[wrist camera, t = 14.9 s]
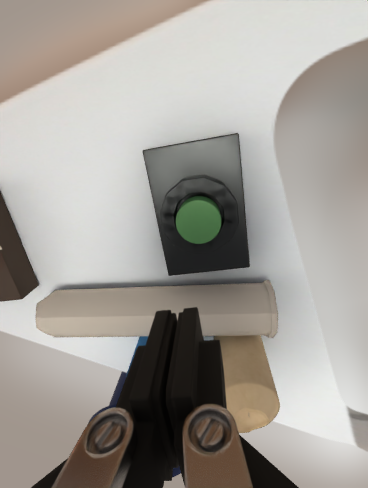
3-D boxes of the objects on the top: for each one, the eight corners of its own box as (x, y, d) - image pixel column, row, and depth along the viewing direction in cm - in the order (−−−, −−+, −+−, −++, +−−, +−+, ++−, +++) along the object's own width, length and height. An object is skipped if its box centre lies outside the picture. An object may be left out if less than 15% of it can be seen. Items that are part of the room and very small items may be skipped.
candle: (236, 363, 32) (249, 453, 23) (203, 338, 31) (203, 422, 22) (270, 338, 30) (299, 424, 21) (236, 310, 29) (250, 388, 20)
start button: (222, 234, 22) (223, 241, 21) (181, 239, 23) (179, 246, 21) (217, 192, 21) (218, 196, 19) (174, 199, 22) (171, 203, 20)
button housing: (246, 257, 27) (252, 276, 23) (171, 266, 28) (165, 285, 24) (235, 133, 23) (241, 132, 19) (147, 149, 24) (136, 150, 20)
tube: (40, 348, 29) (274, 347, 25) (14, 320, 25) (280, 315, 22) (61, 308, 33) (264, 303, 30) (41, 279, 29) (269, 270, 26)
